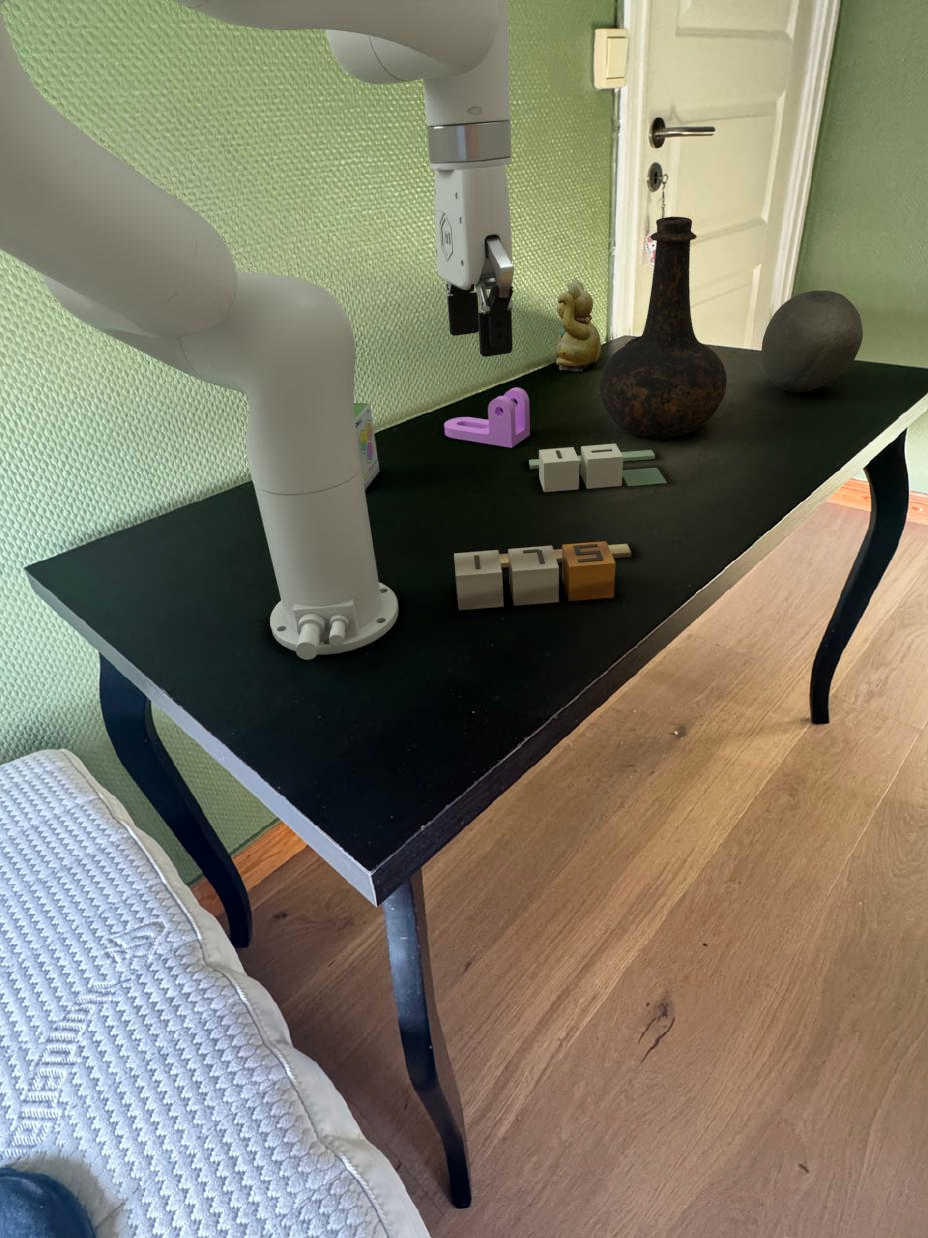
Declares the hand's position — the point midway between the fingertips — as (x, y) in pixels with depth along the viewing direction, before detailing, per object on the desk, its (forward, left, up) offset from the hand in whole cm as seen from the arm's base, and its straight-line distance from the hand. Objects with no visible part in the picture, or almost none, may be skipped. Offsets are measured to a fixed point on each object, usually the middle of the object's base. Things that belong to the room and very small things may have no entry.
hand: (479, 343), depth 78 cm
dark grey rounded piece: (+39, -53, -21) cm, 70 cm away
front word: (-12, -5, -21) cm, 25 cm away
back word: (+14, -15, -21) cm, 30 cm away
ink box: (+17, +17, -21) cm, 32 cm away
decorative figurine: (+63, -21, -21) cm, 70 cm away
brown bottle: (+28, -27, -21) cm, 45 cm away
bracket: (+31, -1, -21) cm, 38 cm away
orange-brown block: (-15, -9, -21) cm, 27 cm away
